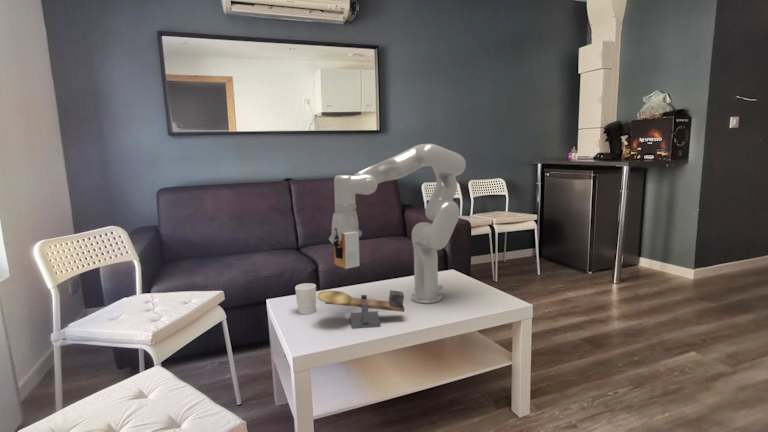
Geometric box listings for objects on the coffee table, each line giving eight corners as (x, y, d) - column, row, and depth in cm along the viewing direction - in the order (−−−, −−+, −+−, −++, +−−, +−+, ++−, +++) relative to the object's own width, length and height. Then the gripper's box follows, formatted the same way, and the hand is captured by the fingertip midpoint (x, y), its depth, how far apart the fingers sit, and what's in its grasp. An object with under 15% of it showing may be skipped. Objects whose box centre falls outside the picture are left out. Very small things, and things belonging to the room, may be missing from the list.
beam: (400, 304, 155) (402, 288, 154) (405, 316, 143) (407, 299, 142) (317, 295, 151) (320, 279, 150) (315, 307, 139) (317, 289, 139)
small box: (334, 264, 155) (332, 230, 153) (348, 262, 159) (347, 228, 157) (345, 269, 148) (344, 233, 147) (360, 266, 152) (359, 231, 151)
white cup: (307, 316, 154) (306, 290, 152) (292, 312, 158) (290, 287, 157) (321, 309, 160) (320, 284, 159) (306, 306, 165) (305, 282, 163)
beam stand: (377, 313, 154) (377, 293, 153) (380, 326, 142) (379, 304, 141) (351, 315, 153) (350, 294, 152) (351, 328, 142) (350, 306, 140)
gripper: (354, 205, 160) (356, 250, 162) (320, 210, 147) (322, 259, 149) (368, 207, 155) (369, 253, 157) (334, 211, 142) (336, 262, 144)
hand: (346, 255), depth 153 cm, fingers closed on small box, 7 cm apart
